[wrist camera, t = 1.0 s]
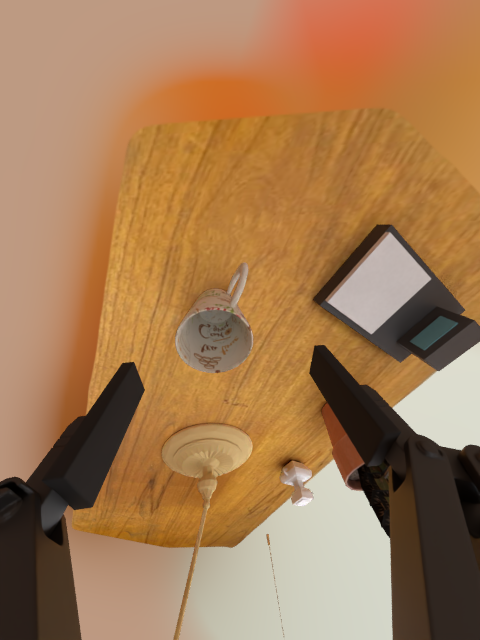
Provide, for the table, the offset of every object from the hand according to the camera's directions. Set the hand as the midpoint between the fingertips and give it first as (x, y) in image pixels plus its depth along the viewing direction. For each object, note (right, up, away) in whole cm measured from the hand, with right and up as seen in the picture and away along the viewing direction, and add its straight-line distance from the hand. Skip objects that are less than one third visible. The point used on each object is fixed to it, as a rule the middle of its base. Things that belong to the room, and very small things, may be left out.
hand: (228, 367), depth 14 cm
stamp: (+16, -39, +41) cm, 59 cm away
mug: (-2, +7, +14) cm, 16 cm away
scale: (+26, +7, +18) cm, 32 cm away
